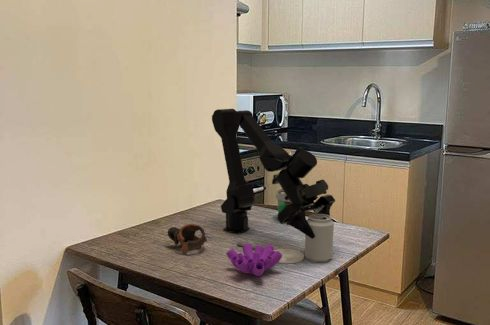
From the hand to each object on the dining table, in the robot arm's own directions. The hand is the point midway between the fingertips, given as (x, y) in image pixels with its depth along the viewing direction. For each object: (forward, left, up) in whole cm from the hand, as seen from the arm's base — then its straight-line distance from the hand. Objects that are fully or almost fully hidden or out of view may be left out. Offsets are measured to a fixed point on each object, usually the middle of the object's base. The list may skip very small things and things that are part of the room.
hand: (323, 234), depth 133 cm
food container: (-27, +27, -7) cm, 39 cm away
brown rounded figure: (-36, -14, -7) cm, 40 cm away
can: (-1, 0, -7) cm, 7 cm away
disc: (-9, -4, -7) cm, 12 cm away
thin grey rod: (-20, -4, -7) cm, 22 cm away
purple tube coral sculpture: (-11, -17, -7) cm, 22 cm away
